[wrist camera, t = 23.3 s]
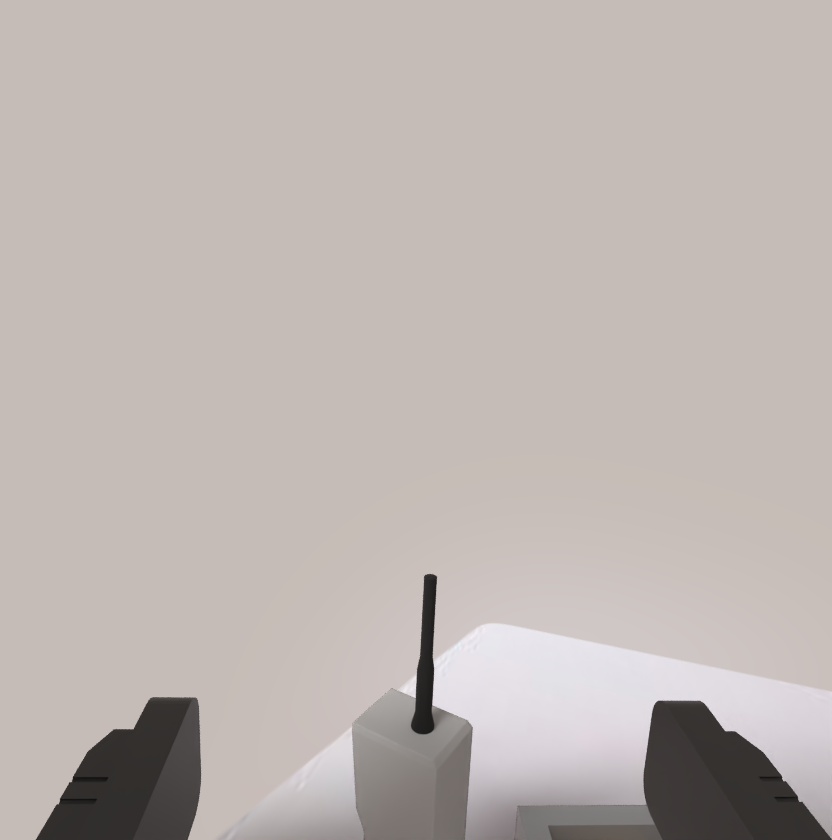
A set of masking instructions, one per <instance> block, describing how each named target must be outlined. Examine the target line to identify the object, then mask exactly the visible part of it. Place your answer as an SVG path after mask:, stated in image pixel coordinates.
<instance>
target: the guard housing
mask: <svg viewBox="0 0 832 840" xmlns="http://www.w3.org/2000/svg"><path fill="white" fill-rule="evenodd" d="M515 840H662V838H661V836H660V834H659V832H658V829H657V827H656V825H655V823H654V821H653V819H652V817H651V815H650V813H649V810H648V807H647V805H591V806H518V808H517V819H516V830H515Z"/></svg>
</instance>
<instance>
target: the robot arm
mask: <svg viewBox="0 0 832 840" xmlns="http://www.w3.org/2000/svg"><path fill="white" fill-rule="evenodd" d="M199 728H200V727H199V705H198V700H197V698H171V697H167V698H164V697H161V698H159V697H153V698H150V700H149V701H148V703H147V704H146V706H145V708H144V710H143V712H142V714H141V716H140V718H139V720H138V722H137V724H136V725H135V728H134V729H132V730H130V729H128V730H127V729H115V730H113V731H112V732H110V733H109V734H108V735H107V736H106V737H105V738H103V739H102V740H101V741H100V742H99V743H97V744H96V745H95V746H94V747H93V748H92V749H91V750H89V751H88V752H87V754H86V756H85V757H84V759H83V761H82V762H81V764H80V766H79V768H78V769H77V771H76V773H75V774H74V776H73V780H72V782H70V783H69V785H68V786H67V788H66V790H65V791H64V793H63V795H62V796H61V798H60V803H59V804H57V805H56V807H55V808H54V810H53V812H52V813H51V815H50V817H49V819H48V820H47V822H46V824H45V825H44V827H43V829H42V830H41V832H40V834H39V836H38V837H37V839H36V840H188V836H189V833H190V831H191V827H192V824H193V821H194V818H195V815H196V811H197V806H198V801H199V794H200V785H201V759H200V729H199ZM644 793H645V799H646V803H647V807H648V810H649V813H650V815H651V817H652V819H653V821H654V823H655V825H656V827H657V829H658V832H659V834H660V836H661V838H662V840H832V839H831V838H830V837H829V836H828V834H827V833H826V832H825V830H824V829H823V828H822V827H821V825H820V824H819V823H818V822H817V820H816V819H815V818H814V816H813V815H812V814H811V813H810V811H809V810H808V809H807V808H806V806H805V805H804V804H803V802H799V800H798V796H797V795H796V794H795V792H794V791H793V790H792V788H791V787H790V786H789V785H788V783H787V782H786V781H783V780H782V776H781V774H780V773H779V772H778V771H777V769H776V768H775V767H774V766H773V764H772V763H771V762H770V761H769V759H768V758H767V757H766V755H765V754H764V753H763V752H762V751H761V750H759V749H758V748H757V747H755V746H754V745H753V744H751V743H750V742H749V741H747V740H746V739H745V738H743V737H742V736H741V735H739V734H738V733H737V732H735V731H725V730H724V729H723V728H722V726H721V725H720V724H719V722H718V721H717V720H716V718H715V717H714V716H713V714H712V713H711V712H710V710H709V709H708V708H707V706H706V705H705V704H704V703H703V702H701V701H657V702H656V703H655V705H654V708H653V712H652V718H651V725H650V732H649V740H648V747H647V754H646V761H645V768H644Z"/></svg>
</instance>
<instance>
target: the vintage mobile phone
mask: <svg viewBox="0 0 832 840" xmlns="http://www.w3.org/2000/svg"><path fill="white" fill-rule="evenodd" d="M436 584H437V576H435V575H433V574H427V575H425V576H424V594H423V612H422V632H421V652H420V659H419V664H418V668H417V683H416V698H414V697H411V696H409V695H407V694H404V693H402V692H399V691H397V690H395V689H390V690H389V691H388V692H387V693H385V694H384V695H383V696H382V697H381V698H380V699H379V700H378V701H377V702H375V703H374V704H373V705H372V706H371V707H370V708H369V709H368V710H366V711H365V712H364V713H363V714H362V715H361V716H360V717H359V718H357V719H356V720H355V721H354V722H353V725H352V738H353V756H354V775H355V794H356V809H357V812H358V815H359V817H360V820H361V823H362V826H363V829H364V840H465V827H466V813H467V800H468V786H469V772H470V758H471V744H472V730H473V727H472V726H471V724H470V723H469V722H468V721H467V720H465V719H463V718H461V717H458V716H456V715H454V714H451V713H449V712H446V711H444V710H442V709H439V708H437V707H435V706H432V699H433V681H434V664H433V637H434V619H435V602H436Z"/></svg>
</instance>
